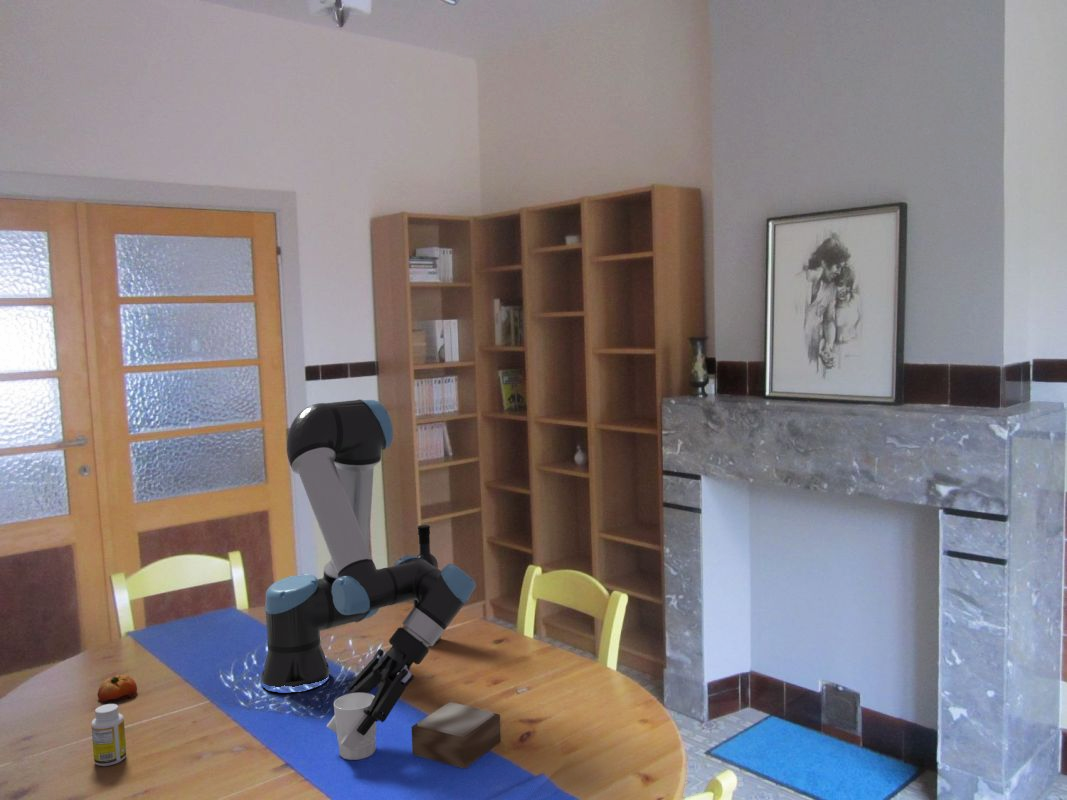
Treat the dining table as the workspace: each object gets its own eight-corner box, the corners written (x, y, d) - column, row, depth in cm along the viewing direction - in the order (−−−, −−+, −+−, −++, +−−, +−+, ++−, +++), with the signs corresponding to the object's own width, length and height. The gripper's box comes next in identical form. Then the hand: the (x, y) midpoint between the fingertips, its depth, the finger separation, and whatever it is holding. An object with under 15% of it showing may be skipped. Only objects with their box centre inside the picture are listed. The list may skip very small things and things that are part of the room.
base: (412, 754, 168) (411, 723, 167) (449, 728, 178) (448, 699, 177) (465, 769, 162) (464, 737, 161) (500, 741, 172) (499, 711, 171)
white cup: (369, 763, 165) (366, 710, 164) (329, 760, 166) (326, 708, 165) (384, 743, 172) (382, 693, 171) (346, 741, 174) (343, 691, 173)
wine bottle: (435, 646, 224) (431, 528, 222) (414, 645, 225) (409, 528, 223) (441, 638, 230) (437, 523, 228) (420, 637, 231) (416, 523, 229)
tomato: (85, 693, 197) (107, 663, 200) (107, 704, 202) (128, 675, 205) (106, 706, 193) (128, 675, 196) (128, 717, 198) (148, 687, 201)
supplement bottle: (118, 750, 173) (114, 699, 172) (131, 758, 169) (128, 706, 168) (88, 761, 168) (85, 709, 168) (102, 770, 165) (98, 717, 164)
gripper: (451, 663, 167) (372, 770, 160) (408, 632, 184) (335, 728, 178) (423, 641, 164) (342, 749, 157) (382, 612, 181) (308, 708, 174)
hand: (339, 738), depth 167 cm, fingers closed on white cup, 8 cm apart
